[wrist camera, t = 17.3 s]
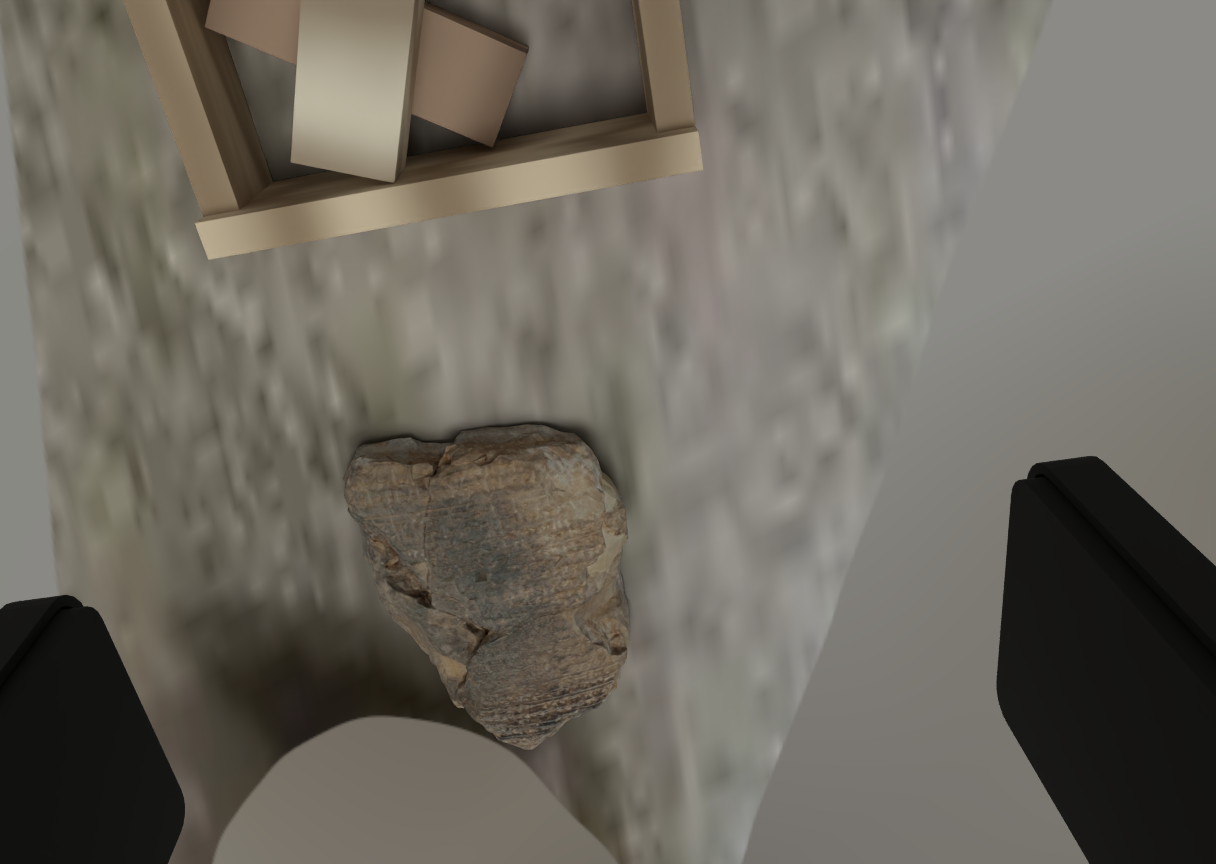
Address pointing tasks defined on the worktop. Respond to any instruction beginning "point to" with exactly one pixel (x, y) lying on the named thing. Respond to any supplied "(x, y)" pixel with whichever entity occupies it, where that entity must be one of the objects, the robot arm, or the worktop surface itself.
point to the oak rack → (430, 183)
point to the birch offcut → (356, 85)
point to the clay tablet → (500, 569)
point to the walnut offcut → (446, 69)
